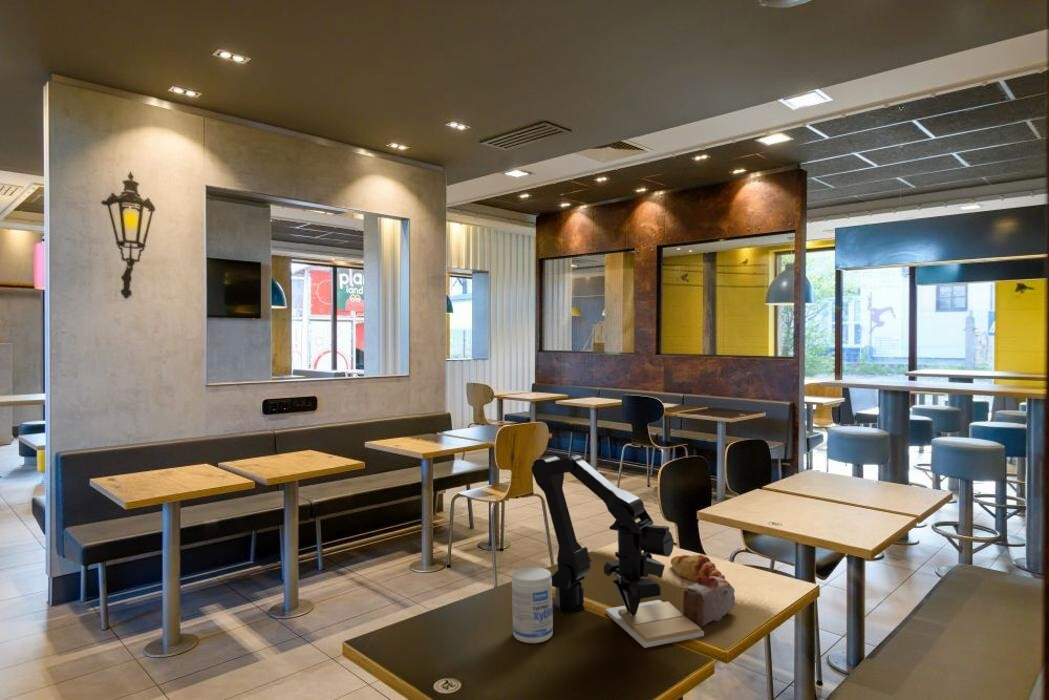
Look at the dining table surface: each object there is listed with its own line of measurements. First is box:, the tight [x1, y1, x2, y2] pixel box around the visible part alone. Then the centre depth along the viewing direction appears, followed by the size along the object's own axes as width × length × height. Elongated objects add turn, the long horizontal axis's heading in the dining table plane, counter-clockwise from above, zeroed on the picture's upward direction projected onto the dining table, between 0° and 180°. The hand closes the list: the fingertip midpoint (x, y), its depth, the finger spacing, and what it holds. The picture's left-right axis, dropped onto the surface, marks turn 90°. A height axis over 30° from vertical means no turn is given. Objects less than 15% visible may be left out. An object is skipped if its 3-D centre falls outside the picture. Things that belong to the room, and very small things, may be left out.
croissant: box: [670, 554, 726, 583], centre depth 183 cm, size 21×10×8 cm, turn 30°
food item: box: [682, 576, 736, 628], centre depth 156 cm, size 14×8×10 cm, turn 132°
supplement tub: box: [511, 566, 554, 644], centre depth 149 cm, size 10×10×15 cm
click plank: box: [618, 601, 684, 629], centre depth 154 cm, size 14×7×1 cm, turn 108°
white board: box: [605, 599, 705, 649], centre depth 153 cm, size 16×20×2 cm
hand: (631, 613), depth 153 cm, fingers closed
